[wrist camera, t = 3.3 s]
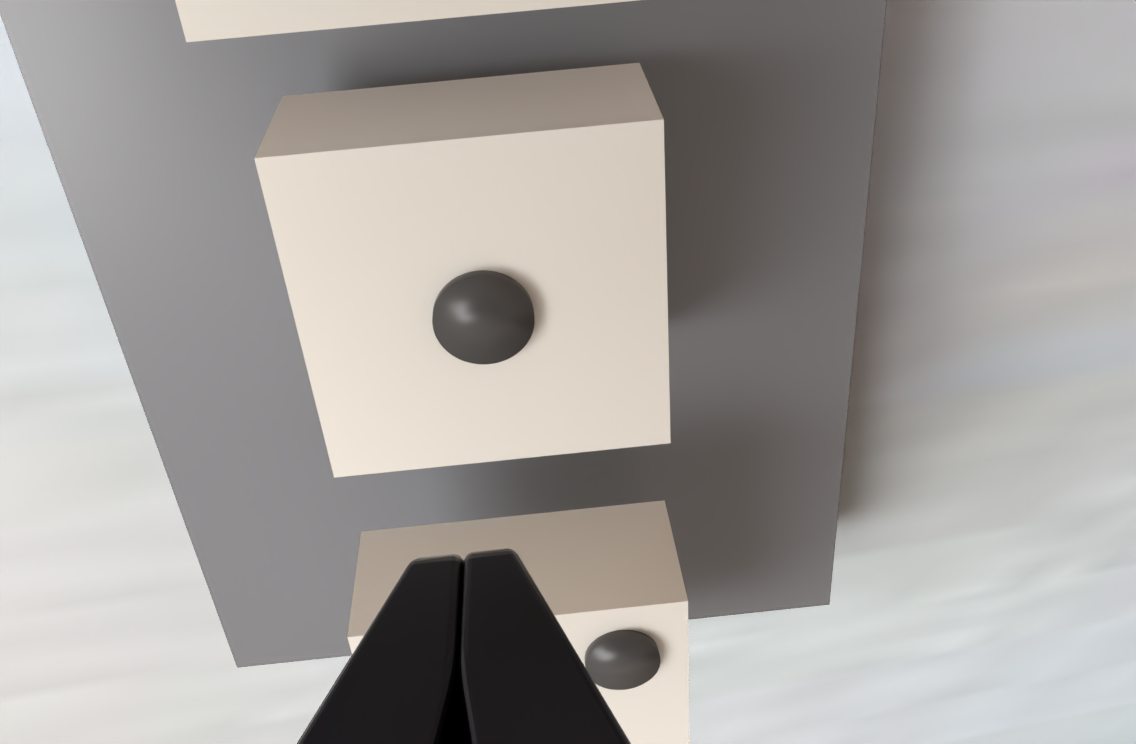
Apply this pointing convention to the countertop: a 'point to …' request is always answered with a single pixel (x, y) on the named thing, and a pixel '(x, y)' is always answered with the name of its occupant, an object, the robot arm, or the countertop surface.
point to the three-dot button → (575, 597)
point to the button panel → (499, 488)
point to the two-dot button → (335, 14)
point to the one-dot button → (476, 265)
